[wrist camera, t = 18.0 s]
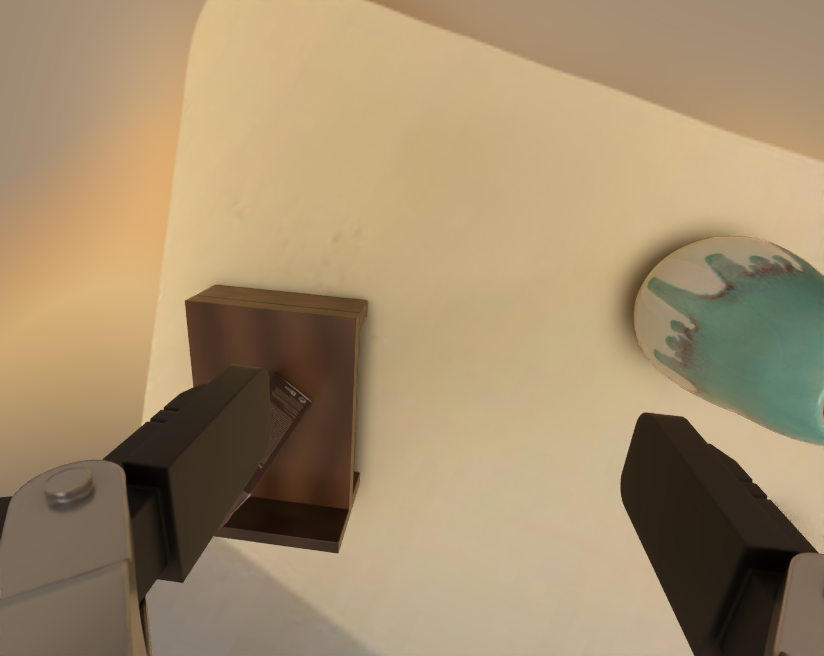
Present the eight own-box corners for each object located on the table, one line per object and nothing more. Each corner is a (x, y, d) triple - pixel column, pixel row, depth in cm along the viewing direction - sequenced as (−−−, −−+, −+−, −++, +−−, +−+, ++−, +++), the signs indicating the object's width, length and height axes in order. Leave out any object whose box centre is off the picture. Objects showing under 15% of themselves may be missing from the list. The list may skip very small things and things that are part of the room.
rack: (228, 467, 49) (181, 531, 41) (215, 284, 42) (154, 316, 34) (359, 484, 48) (338, 553, 40) (367, 300, 41) (344, 337, 33)
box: (272, 368, 39) (195, 454, 28) (314, 401, 39) (256, 499, 28) (233, 413, 41) (147, 511, 29) (274, 444, 41) (205, 552, 30)
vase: (646, 215, 37) (804, 264, 20) (795, 242, 36) (1084, 317, 19) (600, 348, 41) (698, 483, 24) (733, 374, 40) (927, 529, 24)
